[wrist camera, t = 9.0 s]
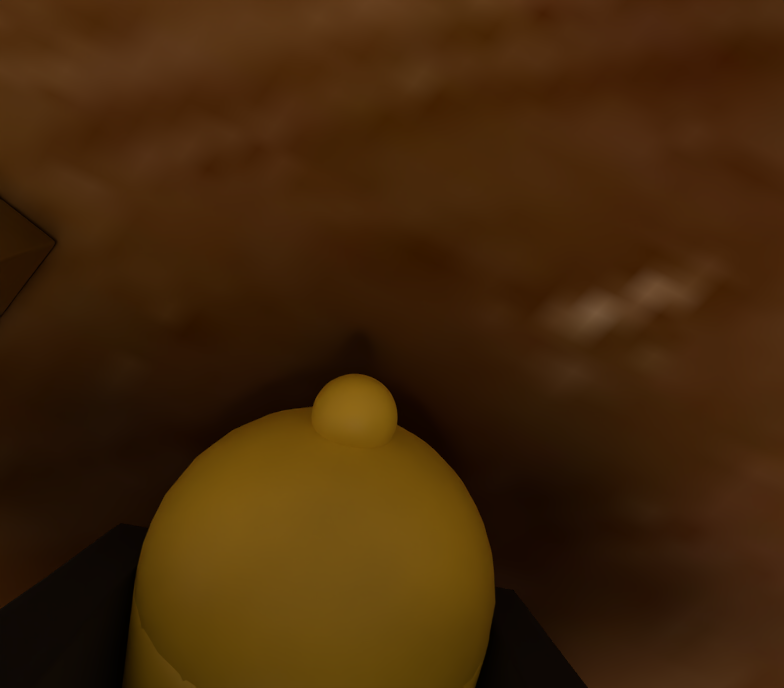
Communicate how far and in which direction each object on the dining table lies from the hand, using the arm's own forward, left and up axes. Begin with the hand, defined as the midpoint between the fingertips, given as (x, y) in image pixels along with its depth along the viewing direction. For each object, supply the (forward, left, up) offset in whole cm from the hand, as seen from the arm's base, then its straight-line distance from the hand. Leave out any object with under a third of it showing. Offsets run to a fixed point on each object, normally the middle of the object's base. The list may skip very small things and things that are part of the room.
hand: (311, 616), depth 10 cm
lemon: (0, 0, -1) cm, 1 cm away
